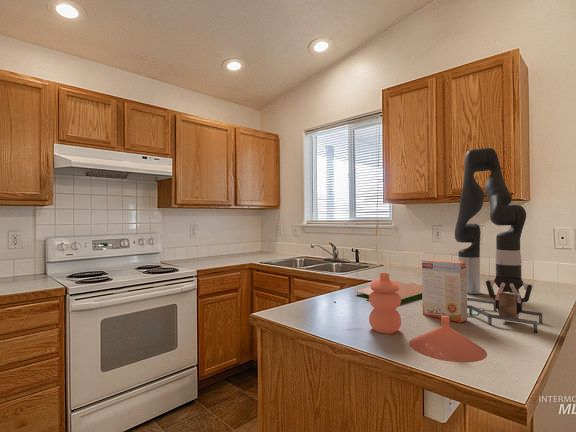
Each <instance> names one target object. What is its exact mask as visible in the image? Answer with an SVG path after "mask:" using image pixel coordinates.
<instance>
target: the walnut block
mask: <svg viewBox="0 0 576 432" xmlns="http://www.w3.org/2000/svg"><path fill="white" fill-rule="evenodd" d="M498 315H500V316H507V317H513V318H520V317H519V316H520V314H517V296H514V294H513V293H510V292H503V293H502V294H499V311H498Z"/></svg>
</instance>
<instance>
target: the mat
mask: <svg viewBox="0 0 576 432" xmlns="http://www.w3.org/2000/svg"><path fill="white" fill-rule="evenodd" d="M477 308H478V309H480V310H483V311H485V310H484V308H482V307H477ZM479 314H480V313H478V312H476V311H474V310H472V316H478V315H479ZM467 315H469V308H467Z"/></svg>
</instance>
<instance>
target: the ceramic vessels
mask: <svg viewBox="0 0 576 432" xmlns="http://www.w3.org/2000/svg"><path fill="white" fill-rule="evenodd" d="M394 280H395V279H391V278H390V273H388V272H380V273H379V278H376V279H374V280H372V281H371V282H370V284H369V287H370V288H371V290H373V292H371V294H370V295H369V296H368V302H369V304H370V305H371V307H373V309H372V310H371V312H370V313H369V316H368V322H369V325H370V327H371V328H372V329H373V331H375V332H377V333H379V334H387V335H389V334H394V333H396V332H398V331H399V329H400V328H401V326H402V318H401V315H400V313H399V312H398V310H397V308H399V307H400V306H401V304H402V300H401V298H400V296H399V294H398V293H396V292H397V291H398V290H399V288H400V286H399V284H398V283H397V282H396V281H397V280H395V281H394ZM440 322H441V326H439V327H437V328H435V329H432V330H430V331H427V332H425V333H422V334H421V335H418V336H415V337H413V338H412V339H410V340H409V342H408V344H409V347H410V348H411V349H412V350H413V351H415V352H417V353H418V354H420V355H423V356H424V357H429V358H431V359H434V360H435V359H436V360H440V361H444V362H452V363H464V364H465V363H475V362H477V363H478V362H480V361H483V360H485V359H486V358H487V357H488V353H487V351H486V349H484V348H483V347H481V346H480V345H479V344H477V343H475V342H474V341H472V340H470V339H469V338H467V337H465V336H464V335H463V334H461V333H460V332H458V331H456V330H454V329H453V328H451V326H450V322H451V321H450V320H449V316H441V320H440Z"/></svg>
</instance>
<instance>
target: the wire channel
mask: <svg viewBox="0 0 576 432" xmlns="http://www.w3.org/2000/svg"><path fill="white" fill-rule="evenodd" d="M467 302H474V303H475V302H476V303H483V304H489V305H493V311H494V312H498V309H496V300H489V299H481V298H474V297H467ZM467 308H469V314H468V316H473V315H472V310H474V311H476V312H478V313H479V314H481V315H482V316H485V317H487V320H488V321H487V324H488V326H489V325H490V326H492V323H493V322H492V319H497V320H502V321H503V320H504V321H510V322H516V323H520V324H521V323H522V324H528V325H532V326H533V333H534V334H538V324H543V322H544V321H543V320H544V319H543V316H544V315H543V312H541V311H533V310H528V309H522V312H521V313H520V314H524V315H532V316H538V321H537V320H532V319H524V318H520V317H518V318H513V317H507V316H500V315H499V314H493V313H490V312H487V311H485V310H480V309H478V308H479V307H476V306H473V305H470V304H469V305H468V304H467Z"/></svg>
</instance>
